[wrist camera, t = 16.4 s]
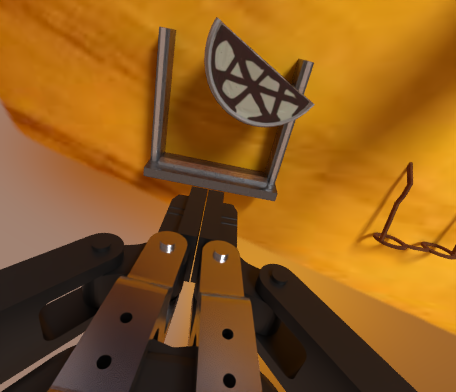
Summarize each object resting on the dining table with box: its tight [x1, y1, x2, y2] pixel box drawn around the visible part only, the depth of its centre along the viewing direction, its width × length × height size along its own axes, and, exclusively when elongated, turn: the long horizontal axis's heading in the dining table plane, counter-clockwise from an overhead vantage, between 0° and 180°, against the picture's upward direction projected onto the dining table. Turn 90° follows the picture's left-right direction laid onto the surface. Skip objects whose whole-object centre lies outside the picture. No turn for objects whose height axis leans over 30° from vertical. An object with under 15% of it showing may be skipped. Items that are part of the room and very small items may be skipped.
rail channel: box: [144, 27, 314, 201], centre depth 34 cm, size 17×17×6 cm
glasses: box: [373, 162, 456, 259], centre depth 41 cm, size 13×13×5 cm
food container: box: [205, 17, 314, 127], centre depth 30 cm, size 12×6×10 cm, turn 53°
